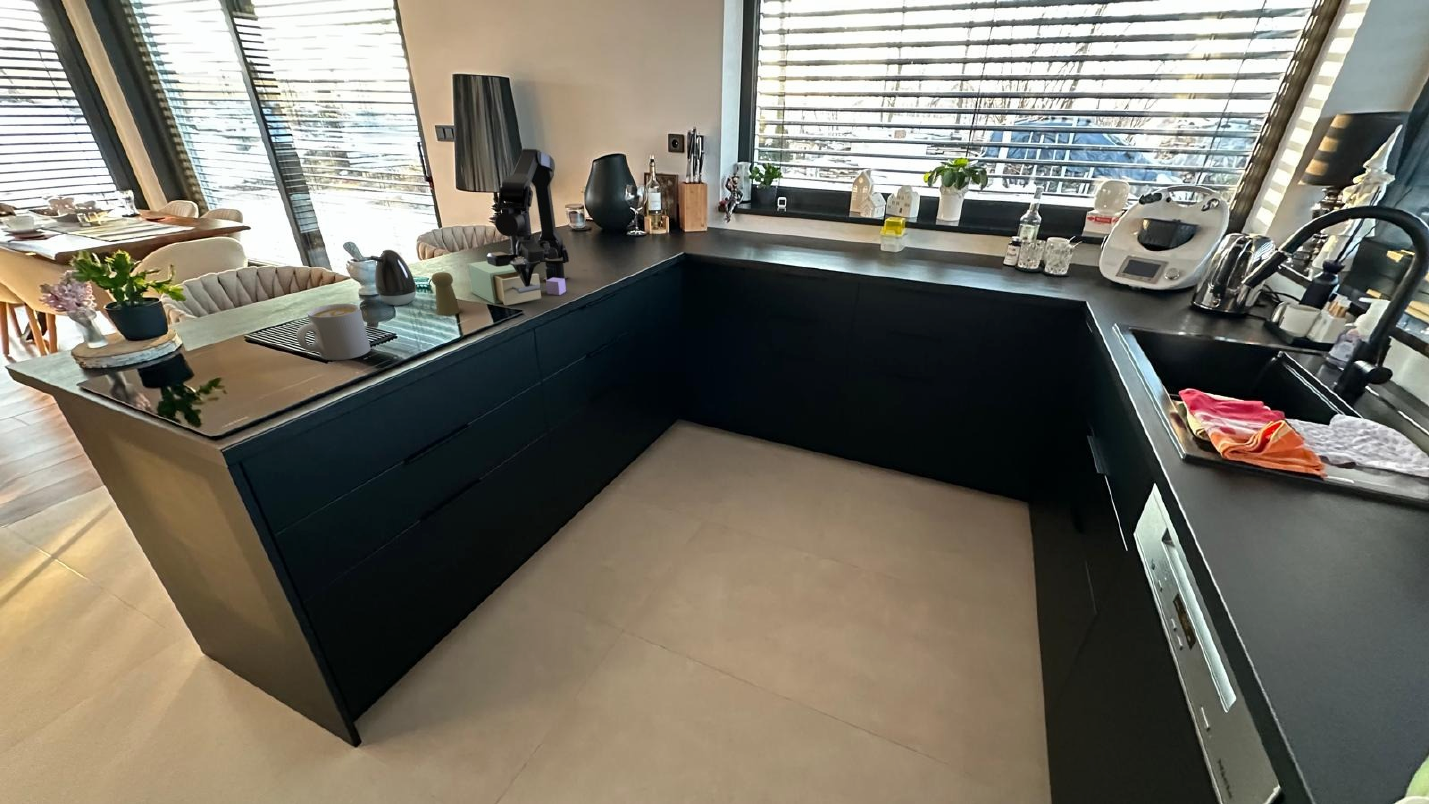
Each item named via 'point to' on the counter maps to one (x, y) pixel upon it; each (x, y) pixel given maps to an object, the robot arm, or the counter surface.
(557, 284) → the soap block
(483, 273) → the green drawer cabinet
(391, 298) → the pump dispenser
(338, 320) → the coffee mug
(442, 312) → the pepper mill
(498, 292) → the drawer
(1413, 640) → the counter surface
